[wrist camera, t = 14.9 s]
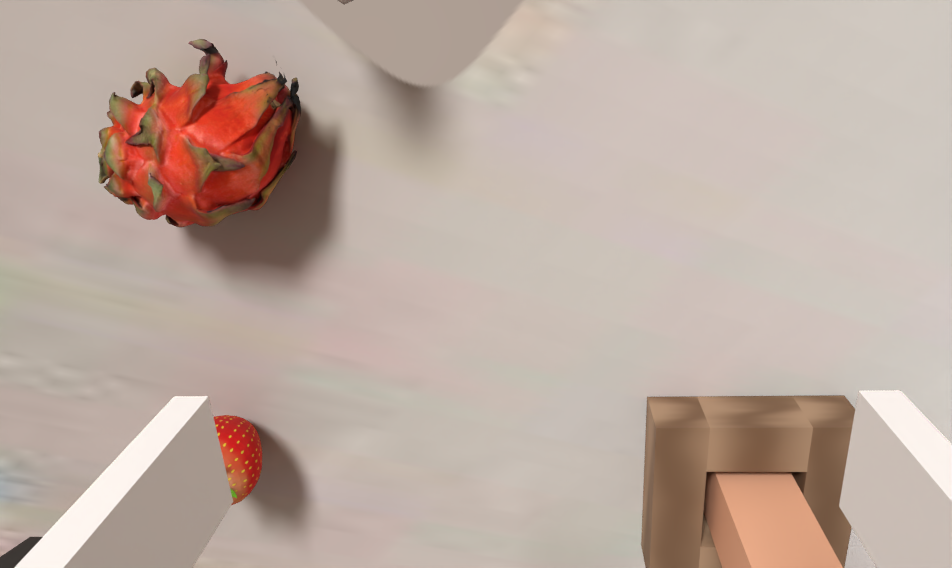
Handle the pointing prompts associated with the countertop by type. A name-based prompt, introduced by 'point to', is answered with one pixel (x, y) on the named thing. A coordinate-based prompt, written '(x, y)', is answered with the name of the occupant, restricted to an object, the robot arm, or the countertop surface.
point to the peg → (764, 522)
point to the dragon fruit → (199, 143)
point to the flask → (345, 1)
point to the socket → (738, 465)
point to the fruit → (239, 454)
